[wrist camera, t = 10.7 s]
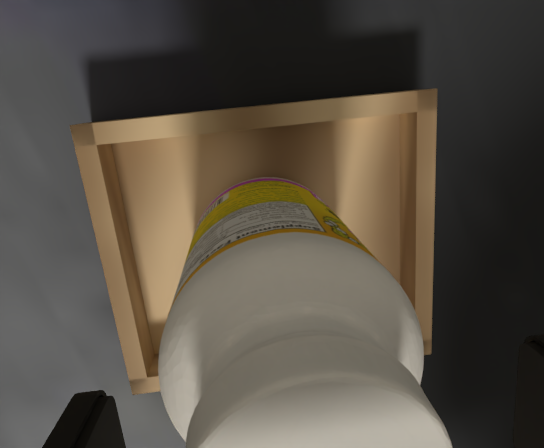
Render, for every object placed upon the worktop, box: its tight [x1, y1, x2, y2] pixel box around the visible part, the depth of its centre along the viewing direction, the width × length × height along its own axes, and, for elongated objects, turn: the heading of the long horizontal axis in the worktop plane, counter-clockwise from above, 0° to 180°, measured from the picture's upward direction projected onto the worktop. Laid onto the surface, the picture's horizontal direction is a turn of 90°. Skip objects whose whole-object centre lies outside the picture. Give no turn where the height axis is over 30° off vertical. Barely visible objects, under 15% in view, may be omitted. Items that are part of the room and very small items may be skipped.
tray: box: [70, 89, 437, 395], centre depth 19 cm, size 14×12×2 cm
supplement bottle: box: [158, 177, 453, 448], centre depth 13 cm, size 7×7×13 cm
